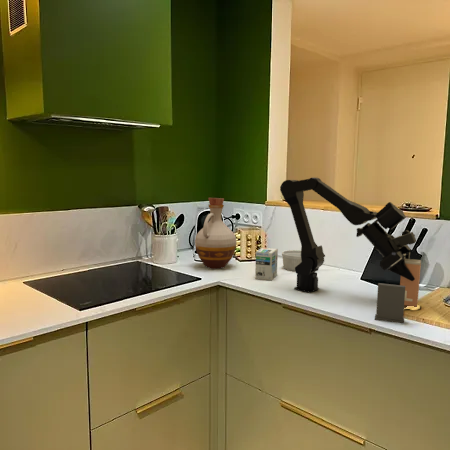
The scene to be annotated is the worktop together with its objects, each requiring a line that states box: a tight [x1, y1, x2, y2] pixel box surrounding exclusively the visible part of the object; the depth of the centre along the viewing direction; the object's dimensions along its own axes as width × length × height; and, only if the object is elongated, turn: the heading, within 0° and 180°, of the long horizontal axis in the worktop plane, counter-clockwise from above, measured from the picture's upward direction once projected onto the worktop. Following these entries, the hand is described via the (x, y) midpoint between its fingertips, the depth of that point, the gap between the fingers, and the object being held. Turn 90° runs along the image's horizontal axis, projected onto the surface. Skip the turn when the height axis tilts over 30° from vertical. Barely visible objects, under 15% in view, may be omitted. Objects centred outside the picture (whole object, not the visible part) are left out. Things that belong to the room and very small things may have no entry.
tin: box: [399, 258, 422, 307], centre depth 128 cm, size 5×5×13 cm
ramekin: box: [281, 249, 302, 272], centre depth 179 cm, size 13×13×7 cm
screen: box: [374, 282, 405, 325], centre depth 116 cm, size 8×3×10 cm, turn 67°
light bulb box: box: [254, 247, 279, 281], centre depth 164 cm, size 11×7×11 cm, turn 161°
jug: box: [194, 197, 237, 270], centre depth 178 cm, size 20×18×30 cm
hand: (415, 278), depth 127 cm, fingers closed on tin, 5 cm apart
